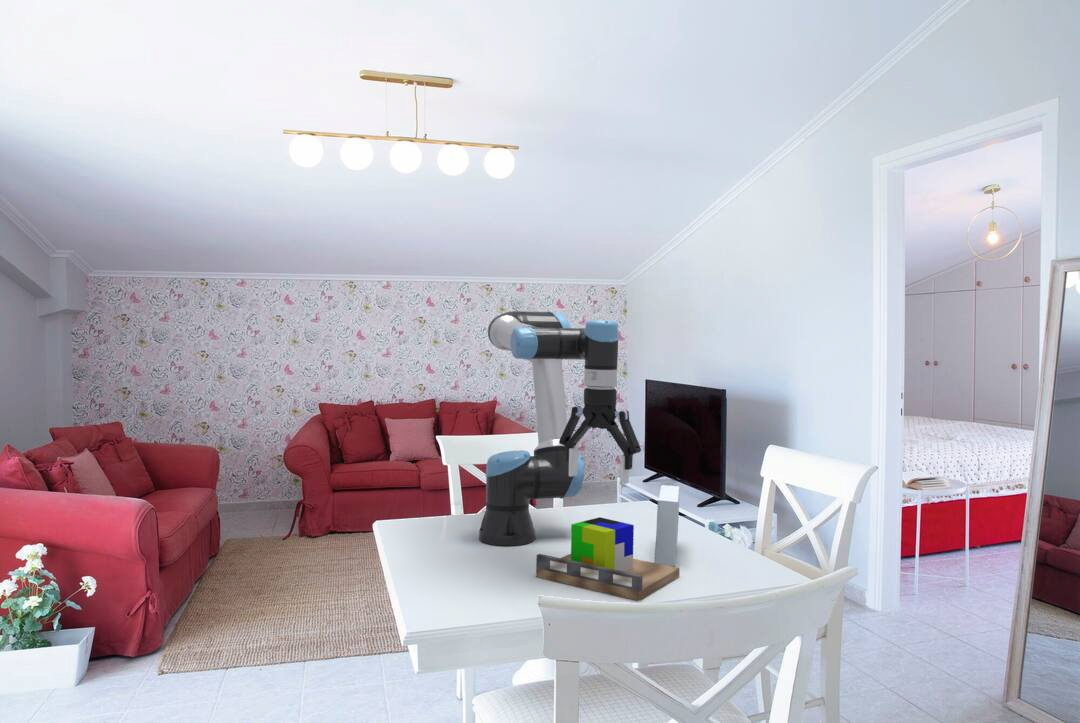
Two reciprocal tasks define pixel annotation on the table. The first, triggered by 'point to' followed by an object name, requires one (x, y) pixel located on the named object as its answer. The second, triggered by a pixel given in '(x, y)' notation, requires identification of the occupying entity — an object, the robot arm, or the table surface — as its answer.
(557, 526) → the table surface
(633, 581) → the brown piece
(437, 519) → the table surface
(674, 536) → the skincare box
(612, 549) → the puzzle toy
